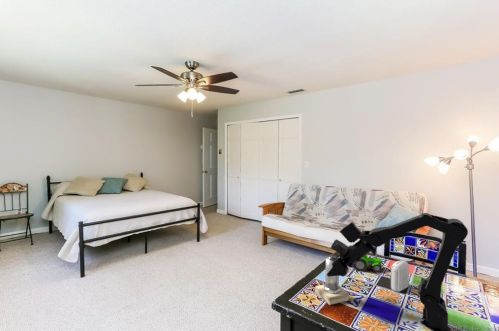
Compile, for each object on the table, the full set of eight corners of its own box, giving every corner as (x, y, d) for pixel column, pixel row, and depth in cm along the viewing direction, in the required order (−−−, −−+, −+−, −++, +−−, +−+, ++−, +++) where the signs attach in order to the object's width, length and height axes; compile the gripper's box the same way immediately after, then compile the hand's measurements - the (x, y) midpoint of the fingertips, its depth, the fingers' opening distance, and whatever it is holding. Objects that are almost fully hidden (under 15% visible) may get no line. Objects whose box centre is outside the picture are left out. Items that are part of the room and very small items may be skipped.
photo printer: (400, 282, 120) (400, 257, 120) (410, 286, 117) (410, 260, 116) (389, 289, 115) (389, 262, 114) (399, 293, 111) (399, 265, 111)
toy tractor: (384, 274, 129) (384, 255, 129) (350, 270, 134) (350, 252, 134) (380, 266, 139) (380, 248, 139) (349, 262, 145) (349, 245, 144)
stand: (349, 300, 106) (349, 293, 106) (329, 304, 103) (329, 297, 103) (333, 288, 116) (333, 282, 115) (315, 292, 112) (315, 286, 112)
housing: (343, 290, 108) (343, 257, 108) (334, 295, 104) (334, 261, 104) (329, 283, 114) (329, 252, 113) (320, 289, 110) (320, 256, 109)
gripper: (348, 229, 113) (323, 249, 120) (337, 241, 98) (310, 263, 104) (367, 250, 109) (341, 269, 116) (359, 265, 94) (329, 286, 100)
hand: (330, 271), depth 109 cm, fingers open, 9 cm apart
